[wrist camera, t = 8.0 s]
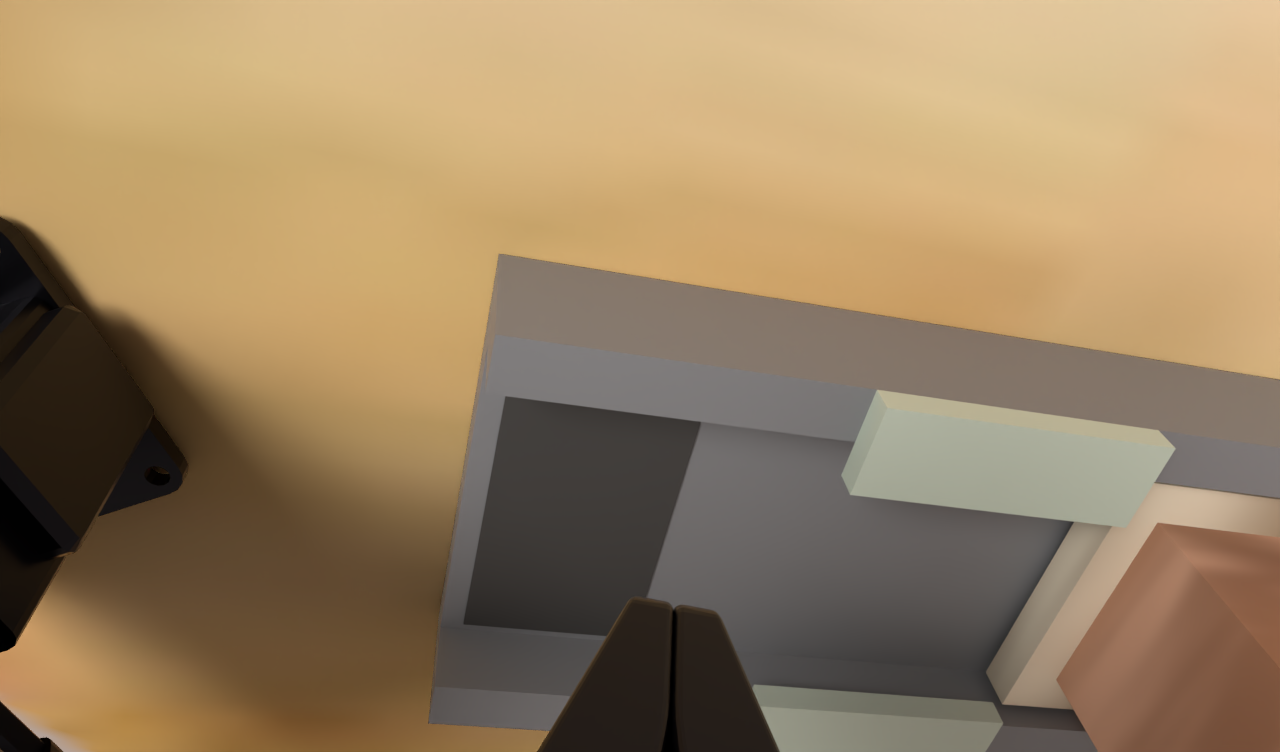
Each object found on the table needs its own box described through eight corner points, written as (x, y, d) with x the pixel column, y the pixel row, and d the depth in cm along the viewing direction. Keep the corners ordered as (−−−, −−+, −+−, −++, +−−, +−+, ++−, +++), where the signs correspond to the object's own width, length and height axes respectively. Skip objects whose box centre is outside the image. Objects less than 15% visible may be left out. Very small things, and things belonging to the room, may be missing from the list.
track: (439, 615, 24) (425, 746, 21) (498, 253, 19) (494, 352, 16) (1135, 674, 28) (1214, 791, 25) (1336, 388, 23) (1466, 489, 20)
